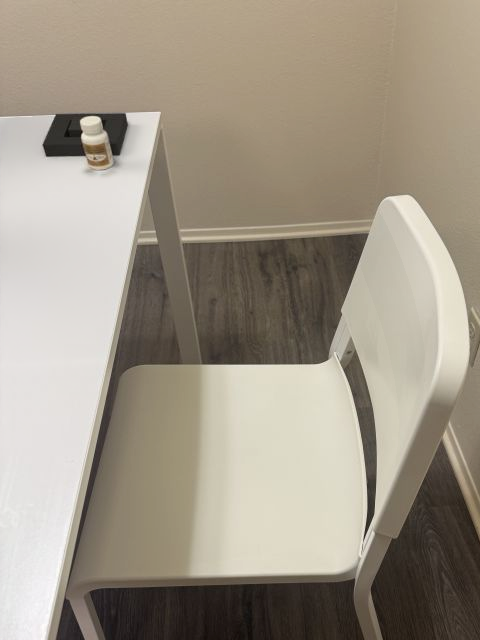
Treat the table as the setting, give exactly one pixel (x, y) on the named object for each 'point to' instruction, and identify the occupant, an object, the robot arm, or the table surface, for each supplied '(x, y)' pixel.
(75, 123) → the small pad
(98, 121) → the pill bottle
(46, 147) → the base pad
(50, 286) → the table surface
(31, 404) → the table surface
